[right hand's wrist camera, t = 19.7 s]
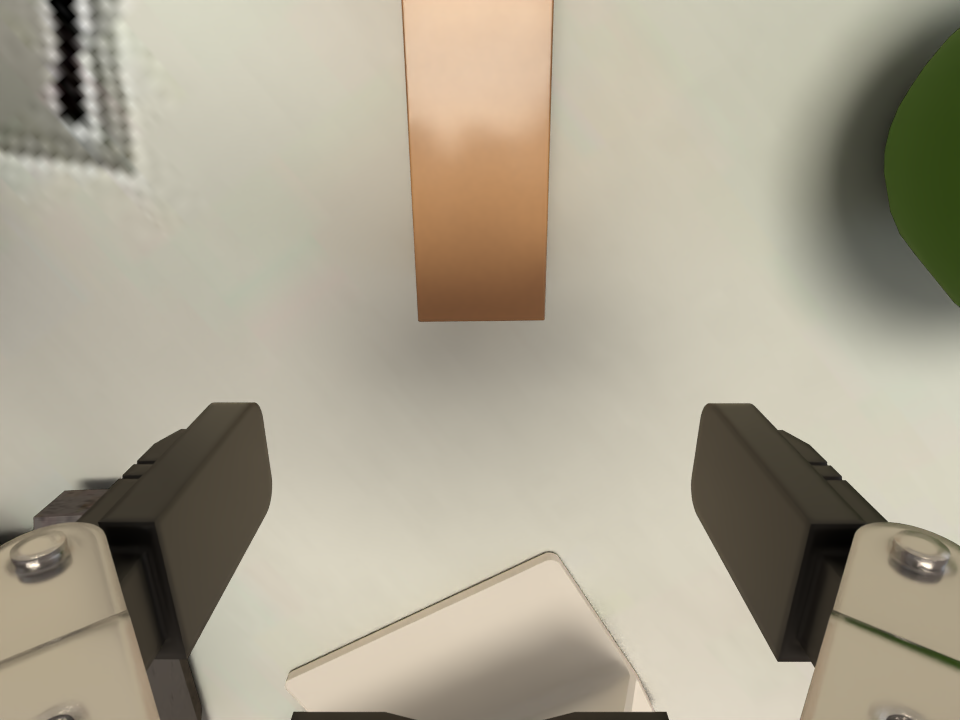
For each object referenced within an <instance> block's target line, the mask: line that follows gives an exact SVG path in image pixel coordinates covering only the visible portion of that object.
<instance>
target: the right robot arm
mask: <svg viewBox="0 0 960 720" xmlns="http://www.w3.org/2000/svg"><path fill="white" fill-rule="evenodd" d="M271 494H272V477H271V470H270V463H269V456H268V449H267V442H266V436H265V429H264V422H263V416H262V412H261V409H260V407H259V405H258V404H257V403H211V404H210V405H209V406H208V407H207V408H206V409H205V410H204V411H203V412H202V413H201V414H200V415H199V416H198V417H197V418H196V419H195V421H194V422H193V423H192V424H191V425H190V426H189V427H188V428H187V429H180V430H179V431H177V432H175V433H173V434H171V435H169V436H168V437H166V438H164V439H162V440H160V441H159V442H157V443H155V444H154V445H153V446H152V447H151V448H150V449H149V450H148V451H147V452H146V453H145V454H144V455H143V456H142V457H141V458H140V459H139V460H138V461H137V464H134V465H133V466H132V467H131V468H130V469H128V470H127V471H126V472H125V473H124V474H123V478H122V479H118V480H117V481H116V482H115V483H114V484H113V485H112V486H111V487H110V488H109V489H108V490H107V491H106V492H105V493H104V494H103V495H102V496H101V497H100V498H99V499H98V500H97V501H96V502H95V503H94V504H93V505H92V506H91V507H90V508H89V509H88V510H87V511H86V512H85V513H84V514H83V515H82V516H81V517H80V518H79V519H78V520H77V521H76V522H68V523H60V524H55V525H50V526H46V527H42V528H39V529H36V530H33V531H30V532H27V533H25V534H23V535H20V536H18V537H16V538H14V539H12V540H10V541H8V542H6V543H4V544H3V545H1V546H0V720H160V718H159V714H158V711H157V707H156V704H155V701H154V697H153V694H152V690H151V687H150V683H149V680H148V677H147V673H146V672H147V670H148V669H149V667H150V665H151V664H152V662H153V660H154V659H188V657H189V655H190V653H191V651H192V650H193V648H194V646H195V644H196V642H197V640H198V638H199V637H200V635H201V633H202V631H203V629H204V627H205V626H206V624H207V622H208V620H209V618H210V616H211V615H212V613H213V611H214V609H215V607H216V605H217V604H218V602H219V600H220V598H221V596H222V594H223V593H224V591H225V589H226V587H227V585H228V583H229V582H230V580H231V578H232V576H233V574H234V572H235V570H236V569H237V567H238V565H239V563H240V561H241V559H242V558H243V556H244V554H245V552H246V550H247V548H248V547H249V545H250V543H251V541H252V539H253V537H254V536H255V534H256V532H257V530H258V528H259V526H260V525H261V523H262V521H263V519H264V517H265V515H266V513H267V511H268V508H269V505H270V501H271ZM691 494H692V501H693V505H694V509H695V512H696V514H697V516H698V518H699V520H700V521H701V523H702V525H703V527H704V529H705V531H706V532H707V534H708V536H709V538H710V540H711V541H712V543H713V545H714V547H715V549H716V550H717V552H718V554H719V556H720V558H721V560H722V561H723V563H724V565H725V567H726V569H727V570H728V572H729V574H730V576H731V578H732V580H733V581H734V583H735V585H736V587H737V589H738V590H739V592H740V594H741V596H742V598H743V600H744V601H745V603H746V605H747V607H748V609H749V610H750V612H751V614H752V616H753V618H754V620H755V621H756V623H757V625H758V627H759V629H760V630H761V632H762V634H763V636H764V638H765V639H766V641H767V643H768V645H769V647H770V649H771V650H772V652H773V654H774V656H775V658H776V659H777V661H778V662H812V664H813V665H814V667H815V670H814V673H813V677H812V680H811V683H810V687H809V690H808V694H807V697H806V701H805V704H804V707H803V711H802V714H801V718H800V720H960V546H959V545H957V544H956V543H954V542H952V541H950V540H948V539H946V538H944V537H942V536H940V535H937V534H935V533H933V532H930V531H927V530H924V529H921V528H918V527H914V526H910V525H905V524H900V523H892V522H888V521H887V520H886V519H885V518H884V517H883V516H882V515H880V514H879V513H878V512H877V511H876V510H875V509H874V508H873V507H872V506H871V505H870V504H869V503H868V502H867V501H866V500H865V499H864V498H863V497H862V496H861V495H860V494H859V493H858V492H857V491H856V490H855V489H854V488H853V487H852V486H851V485H850V484H849V483H848V482H847V481H846V480H842V476H841V475H840V474H839V473H838V472H837V471H836V470H835V469H834V468H833V467H832V466H827V461H826V460H825V459H823V458H822V457H821V456H820V455H819V454H818V453H817V452H816V451H815V450H814V449H813V448H812V447H811V446H810V445H809V444H807V443H805V442H803V441H802V440H800V439H798V438H796V437H794V436H793V435H791V434H789V433H787V432H785V431H783V430H777V429H776V428H775V427H774V426H773V425H772V424H771V423H770V422H769V421H768V419H767V418H766V417H765V416H764V415H763V414H762V413H761V412H760V411H759V410H758V409H757V408H756V407H755V406H754V405H753V404H750V403H708V404H707V405H706V406H705V407H704V408H703V411H702V414H701V419H700V425H699V432H698V439H697V445H696V452H695V459H694V465H693V472H692V479H691ZM291 720H415V719H411V718H407V717H403V716H400V715H396V714H392V713H388V712H293V715H292V718H291ZM545 720H669V718H668V715H667V712H572V713H568V714H564V715H560V716H557V717H553V718H549V719H545Z"/></svg>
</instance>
